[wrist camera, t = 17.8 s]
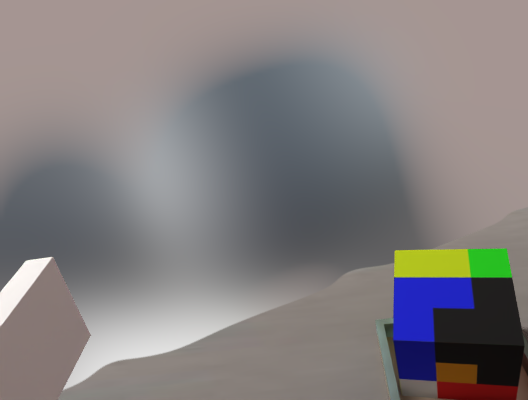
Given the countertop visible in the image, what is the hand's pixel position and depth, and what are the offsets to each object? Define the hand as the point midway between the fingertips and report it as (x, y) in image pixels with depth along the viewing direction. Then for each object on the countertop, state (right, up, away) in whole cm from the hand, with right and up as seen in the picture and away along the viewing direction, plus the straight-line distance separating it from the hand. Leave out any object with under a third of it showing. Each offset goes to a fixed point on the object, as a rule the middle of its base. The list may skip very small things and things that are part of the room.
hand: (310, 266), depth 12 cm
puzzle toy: (+18, -14, +38) cm, 44 cm away
